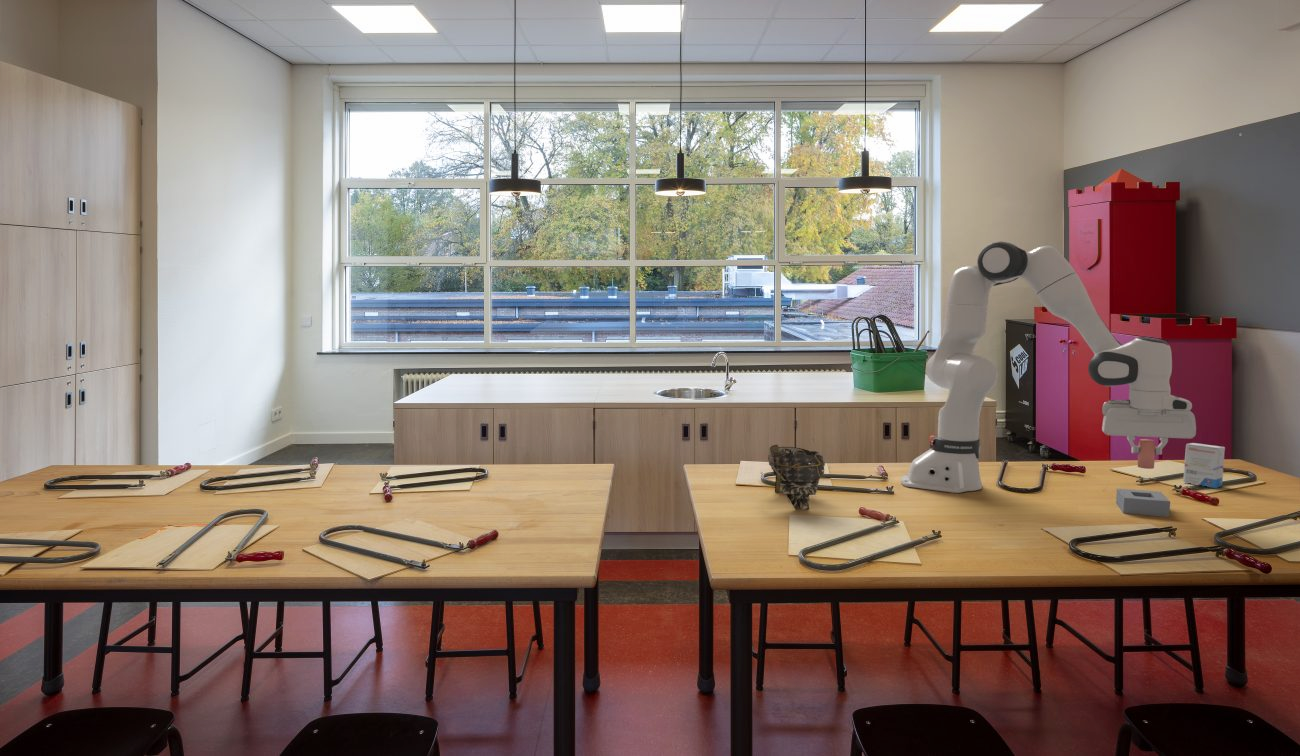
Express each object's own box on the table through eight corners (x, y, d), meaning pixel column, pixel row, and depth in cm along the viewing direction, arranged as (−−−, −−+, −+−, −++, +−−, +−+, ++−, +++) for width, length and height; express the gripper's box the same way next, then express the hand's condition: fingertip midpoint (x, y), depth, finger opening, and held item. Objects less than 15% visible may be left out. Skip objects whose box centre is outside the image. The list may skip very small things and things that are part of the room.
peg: (1139, 468, 197) (1140, 441, 196) (1136, 465, 201) (1137, 438, 200) (1155, 469, 196) (1157, 442, 195) (1152, 465, 199) (1153, 439, 198)
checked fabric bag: (760, 493, 223) (762, 442, 222) (812, 494, 223) (814, 443, 222) (775, 510, 200) (777, 453, 200) (833, 511, 201) (835, 454, 200)
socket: (1123, 513, 197) (1124, 497, 196) (1116, 502, 206) (1116, 488, 205) (1169, 516, 193) (1170, 501, 193) (1159, 506, 202) (1160, 491, 202)
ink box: (1223, 486, 222) (1226, 446, 221) (1216, 488, 219) (1219, 448, 218) (1189, 480, 229) (1192, 441, 228) (1182, 482, 226) (1185, 443, 225)
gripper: (1104, 401, 197) (1102, 453, 199) (1199, 403, 190) (1196, 458, 191) (1100, 397, 203) (1098, 448, 205) (1192, 400, 195) (1189, 453, 197)
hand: (1146, 453), depth 198 cm, fingers closed on peg, 4 cm apart
